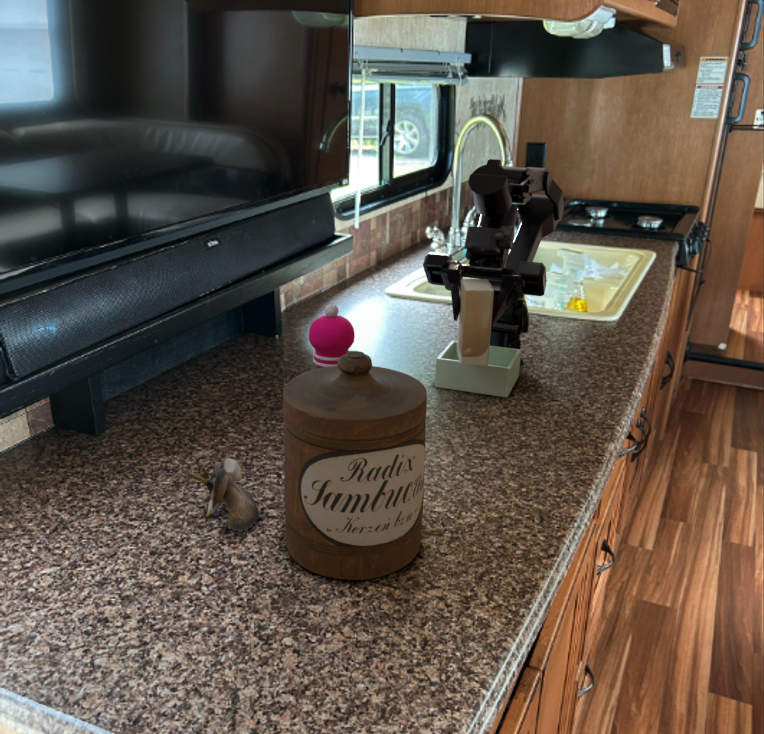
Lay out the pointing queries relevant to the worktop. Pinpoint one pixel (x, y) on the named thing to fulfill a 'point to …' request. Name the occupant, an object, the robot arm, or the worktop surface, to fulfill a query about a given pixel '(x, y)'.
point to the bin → (479, 371)
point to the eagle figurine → (229, 495)
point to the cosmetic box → (475, 322)
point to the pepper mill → (330, 337)
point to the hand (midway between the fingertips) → (473, 321)
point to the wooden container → (354, 468)
